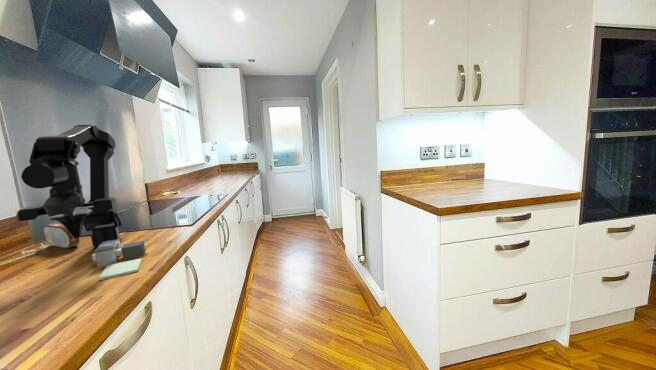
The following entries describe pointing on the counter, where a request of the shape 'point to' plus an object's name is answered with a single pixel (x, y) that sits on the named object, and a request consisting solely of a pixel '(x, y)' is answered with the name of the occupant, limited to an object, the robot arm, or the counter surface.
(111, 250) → the housing
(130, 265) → the mat
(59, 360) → the counter surface
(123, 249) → the plug
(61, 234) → the tin
